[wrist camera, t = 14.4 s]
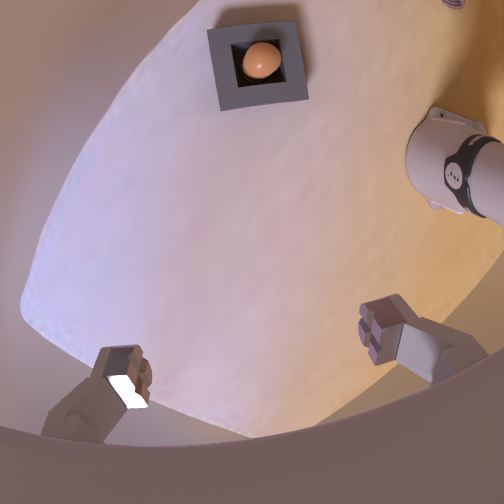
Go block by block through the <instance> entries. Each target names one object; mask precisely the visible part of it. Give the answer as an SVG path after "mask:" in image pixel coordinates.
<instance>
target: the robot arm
mask: <svg viewBox="0 0 504 504" xmlns="http://www.w3.org/2000/svg"><path fill="white" fill-rule="evenodd" d="M440 114H441V116H440ZM406 165H407V171H408V175H409V178H410V181H411V183H412V184H413V186H414V188H415V189H416V190H417V191H418V192H419V193H420V194H422V195H423V196H424V197H425V198H426V199H427V201H428V203H429V205H430V206H431V208H432V209H434V210H440V209H442V208H447V209H449V210H452V211H454V212H456V213H459V214H463V212H466V211H469V212H470V213H472V214H474V215H476V216H480V217H483V218H489V219H490V220H492V221H494V222H496V223H497V224H499V225H501V226H502V227H504V144H503V143H502V142H500V141H499V140H497V139H495V137H493V136H491V135H488V134H487V132H486V129H485V127H484V126H483V123H482V122H478V121H474V120H470V119H468V118H465V117H463V116H460V115H458V114H455V113H452V112H450V111H447V110H444V109H441V108H439V107H432V108H431V109H430V110H429V112H428V115H427V117H426V119H425V121H424V122H423V123H421V124H420V125H419V126H418V127H417V128H416V130H415V131H414V133H413V134H412V136H411V138H410V141H409V144H408V148H407V155H406ZM359 313H360V315H361V316H362V318H361V319H360V321H359V324H358V331H359V336H360V339H361V342H362V343H363V345H364V346H366V347H368V348H369V352H368V354H369V356H370V358H371V360H372V361H373V363H374V365H375V366H377V365H380V364H384V363H387V362H390V361H393V360H395V361H396V362H398V363H400V364H401V365H403V366H405V367H406V368H408V369H409V370H411V371H413V372H414V373H416V374H418V375H419V376H421V377H422V378H424V379H426V380H427V381H429V382H430V386H429V387H428V388H426V389H423V390H421V391H419V392H416V393H414V394H411V395H409V396H407V397H404V398H401V399H399V400H397V401H394V402H391V403H389V404H386V405H383V406H380V407H377V408H374V409H372V410H369V411H366V412H363V413H360V414H357V415H354V416H350V417H347V418H343V419H340V420H336V421H333V422H329V423H325V424H321V425H318V426H313V427H309V428H305V429H301V430H296V431H291V432H286V433H281V434H276V435H271V436H265V437H259V438H252V439H245V440H238V441H229V442H220V443H209V444H197V445H177V446H130V445H112V444H111V445H110V444H106V443H105V442H104V440H105V438H106V437H107V436H108V435H109V433H110V432H111V431H112V429H113V428H114V427H115V425H116V424H117V423H118V421H119V420H120V419H121V417H122V416H123V415H124V413H125V412H126V411H127V409H128V408H132V407H133V408H134V407H147V406H148V401H149V395H150V392H149V391H148V389H147V388H148V387H149V386H150V385H151V383H152V370H151V367H150V364H149V362H148V360H146V359H145V358H143V357H142V355H143V351H142V349H141V347H140V346H139V345H123V346H112V347H103V348H101V349H100V352H99V354H98V357H97V360H96V362H95V365H94V368H93V370H92V373H91V376H90V377H87V378H86V379H84V381H82V382H81V383H80V384H79V385H78V386H77V387H75V388H74V389H73V390H72V391H71V392H70V393H69V394H68V395H67V396H65V397H64V398H63V399H62V400H61V401H60V402H59V403H58V404H57V405H56V406H55V407H53V408H52V409H51V410H50V411H49V412H48V415H47V418H46V421H45V423H44V426H43V429H42V432H41V435H36V434H32V433H27V432H23V431H18V430H14V429H10V428H7V427H3V426H0V504H504V347H503V348H501V349H499V350H498V351H496V352H495V353H493V354H491V355H490V356H489V354H488V353H487V352H486V351H485V350H484V348H483V347H482V346H481V345H480V344H479V343H478V342H477V340H476V339H475V338H474V337H473V336H471V335H469V334H466V333H464V332H461V331H458V330H456V329H453V328H450V327H448V326H445V325H442V324H440V323H437V322H435V321H432V320H429V319H427V318H424V317H421V318H419V317H418V316H417V315H416V313H415V312H414V311H413V310H412V309H411V308H410V306H409V305H408V304H407V303H406V302H405V301H404V300H403V298H402V297H401V296H400V295H399V294H393V295H390V296H387V297H385V298H381V299H377V300H373V301H370V302H366V303H362V304H361V306H360V311H359Z"/></svg>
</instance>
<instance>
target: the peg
mask: <svg viewBox="0 0 504 504" xmlns="http://www.w3.org/2000/svg"><path fill="white" fill-rule="evenodd" d="M280 63H281V55H280V52H279V51H278V49H277V48H276V47H275V46H273V45H271V44H269V43H263V42H262V43H256V44H254V45H252V46H251V47H250V48H249V49H248V50H247V52H246V55H245V57H244V59H243V62H242V64H241V73H242V75H243V77H244V78H245V79H247V80H249V81H251V82H260V81H262V80H264V79H265V78H266V77H268V76H269V75H270V74H271V73H273V72H274V71H275V70H276V69H277V68H278V67H279V65H280Z"/></svg>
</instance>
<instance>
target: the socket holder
mask: <svg viewBox="0 0 504 504" xmlns="http://www.w3.org/2000/svg"><path fill="white" fill-rule="evenodd" d="M207 34H208V41H209V47H210V52H211V58H212V64H213V70H214V76H215V81H216V87H217V93H218V99H219V104H220V110H221V111H226V110H232V109H238V108H244V107H251V106H258V105H266V104H274V103H283V102H293V101H301V100H307V99H309V96H308V89H307V83H306V77H305V70H304V65H303V59H302V53H301V48H300V42H299V37H298V32H297V27H296V22H295V21H286V22H268V23H255V24H245V25H237V26H229V27H222V28H216V29H210V30H207ZM262 42H263V43H269V44H271V45H273V46H275V47H276V48H277V49H278V51H279V52H280V55H281V63H280V65H279V67H278V68H277V69H276V71H277V77H278V83H270V84H262V85H254V86H246V87H239V88H238V85H237V79H236V73H235V67H234V62H233V56H232V52H235V51H242V50H248V49H249V48H250V47H251V46H252V45H254V44H256V43H262Z"/></svg>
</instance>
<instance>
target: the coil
mask: <svg viewBox="0 0 504 504" xmlns="http://www.w3.org/2000/svg"><path fill="white" fill-rule="evenodd" d="M447 2H448V3H447ZM443 3H444V4H445V5H447V6H448V7H450V8H453V9H462V8H463V7H464V5H465V4H464V3H465V0H443ZM451 4H452V5H451Z"/></svg>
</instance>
